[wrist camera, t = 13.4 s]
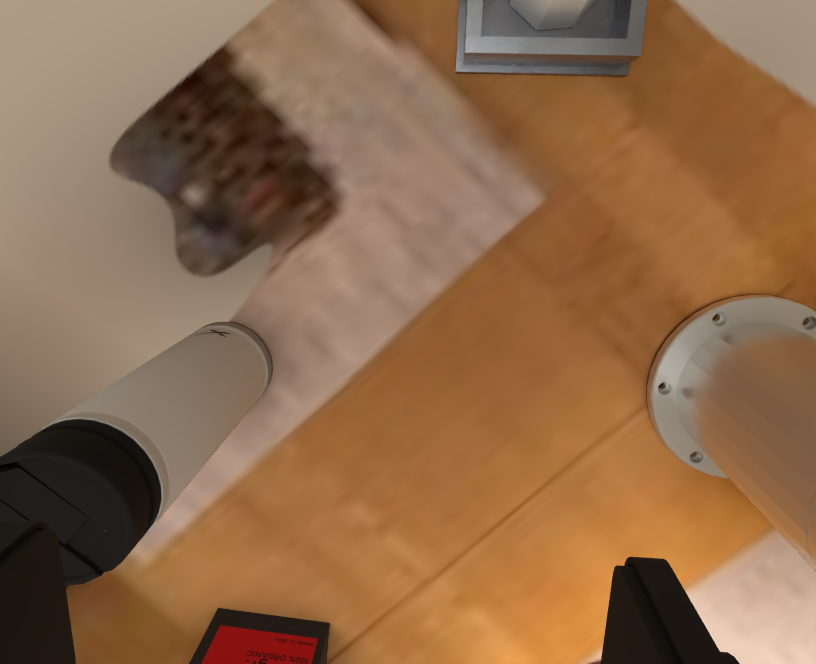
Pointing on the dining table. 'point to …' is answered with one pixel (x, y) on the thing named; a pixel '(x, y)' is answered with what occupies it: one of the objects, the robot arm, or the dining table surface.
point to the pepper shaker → (551, 12)
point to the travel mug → (133, 447)
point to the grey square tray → (549, 40)
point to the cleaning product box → (262, 640)
